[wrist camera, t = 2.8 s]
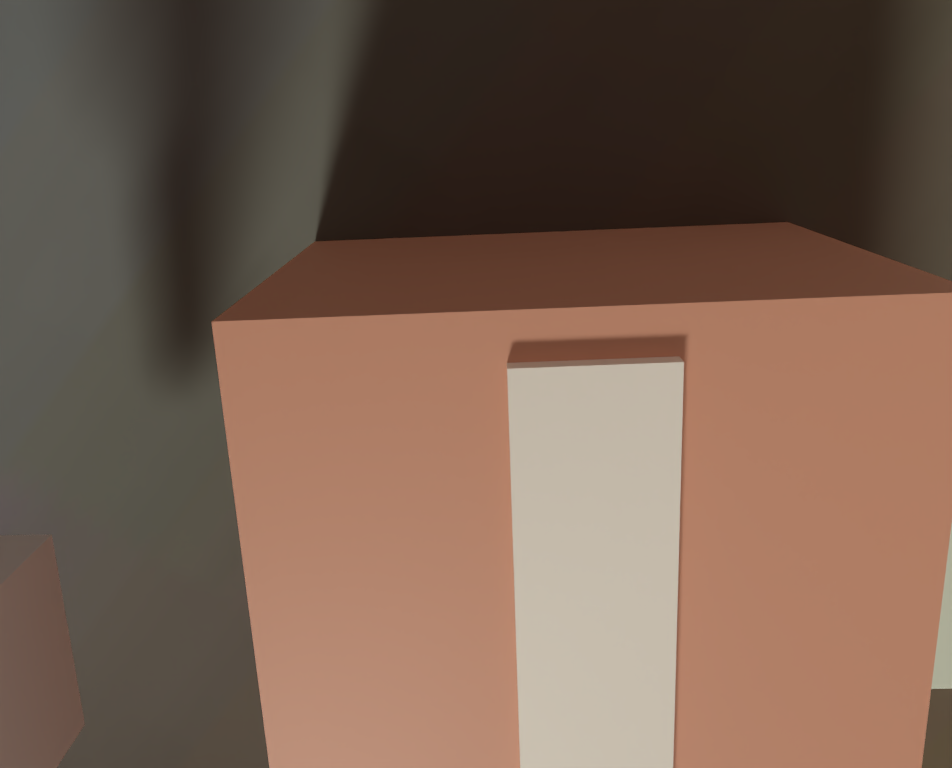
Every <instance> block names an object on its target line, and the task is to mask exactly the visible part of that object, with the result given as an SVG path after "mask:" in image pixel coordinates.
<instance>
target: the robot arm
mask: <svg viewBox="0 0 952 768" xmlns="http://www.w3.org/2000/svg"><path fill="white" fill-rule="evenodd" d="M84 725H85V723H84V717H83V711H82V705H81V700H80V694H79V688H78V682H77V677H76V671H75V665H74V660H73V654H72V648H71V642H70V637H69V631H68V625H67V620H66V614H65V608H64V602H63V597H62V591H61V585H60V580H59V574H58V568H57V562H56V557H55V551H54V545H53V539H52V535H0V768H57V766H58V765H59V763H60V762H61V760H62V759H63V757H64V756H65V754H66V752H67V751H68V749H69V748H70V746H71V745H72V743H73V742H74V740H75V739H76V737H77V736H78V734H79V733H80V731H81V729H82V728H83V726H84Z"/></svg>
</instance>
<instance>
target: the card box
mask: <svg viewBox="0 0 952 768" xmlns="http://www.w3.org/2000/svg"><path fill="white" fill-rule="evenodd" d="M212 330H213V337H214V345H215V353H216V360H217V368H218V376H219V383H220V391H221V399H222V406H223V414H224V422H225V429H226V437H227V445H228V452H229V460H230V468H231V475H232V483H233V491H234V498H235V506H236V514H237V522H238V529H239V537H240V545H241V552H242V560H243V568H244V575H245V583H246V591H247V598H248V606H249V614H250V621H251V629H252V637H253V644H254V652H255V660H256V667H257V675H258V683H259V690H260V698H261V706H262V713H263V721H264V729H265V736H266V744H267V752H268V760H269V767H270V768H922V759H923V751H924V743H925V735H926V727H927V719H928V711H929V703H930V694H931V686H932V678H933V670H934V662H935V654H936V646H937V638H938V629H939V621H940V613H941V605H942V597H943V589H944V581H945V573H946V564H947V556H948V548H949V540H950V532H951V524H952V281H950V280H947V279H944V278H941V277H939V276H936V275H933V274H930V273H928V272H925V271H922V270H919V269H917V268H914V267H911V266H908V265H906V264H903V263H900V262H897V261H894V260H892V259H889V258H886V257H883V256H881V255H878V254H875V253H872V252H870V251H867V250H864V249H861V248H858V247H856V246H853V245H850V244H847V243H845V242H842V241H839V240H836V239H834V238H831V237H828V236H825V235H823V234H820V233H817V232H814V231H811V230H809V229H806V228H803V227H800V226H798V225H795V224H792V223H789V222H778V223H753V224H729V225H704V226H680V227H655V228H631V229H607V230H582V231H558V232H533V233H509V234H484V235H460V236H435V237H411V238H387V239H362V240H338V241H315V242H314V243H312V244H311V245H310V246H309V247H307V248H306V249H305V250H303V251H302V252H301V253H300V254H298V255H297V256H296V257H294V258H293V259H292V260H290V261H289V262H288V263H287V264H285V265H284V266H283V267H281V268H280V269H279V270H278V271H276V272H275V273H274V274H272V275H271V276H270V277H269V278H267V279H266V280H265V281H263V282H262V283H261V284H259V285H258V286H257V287H256V288H254V289H253V290H252V291H250V292H249V293H248V294H247V295H245V296H244V297H243V298H241V299H240V300H239V301H238V302H236V303H235V304H234V305H232V306H231V307H230V308H229V309H227V310H226V311H225V312H223V313H222V314H221V315H219V316H218V317H217V318H216V319H214V320H213V321H212Z"/></svg>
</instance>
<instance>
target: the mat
mask: <svg viewBox="0 0 952 768" xmlns="http://www.w3.org/2000/svg"><path fill="white" fill-rule="evenodd" d="M947 688H952V524H951V532H950V540H949V548H948V556H947V564H946V573H945V581H944V589H943V597H942V605H941V613H940V621H939V629H938V638H937V646H936V654H935V662H934V670H933V678H932V686H931V689H947Z"/></svg>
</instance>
